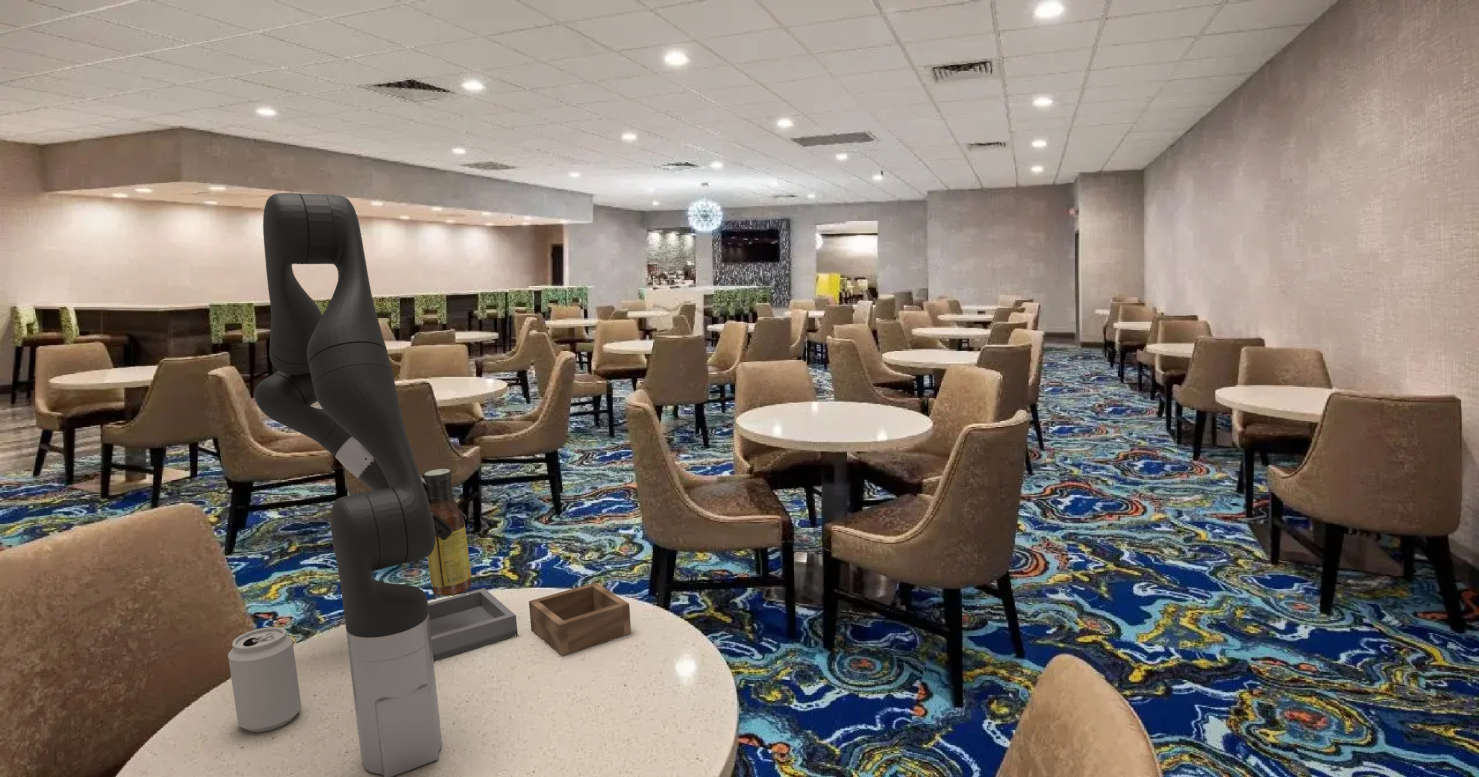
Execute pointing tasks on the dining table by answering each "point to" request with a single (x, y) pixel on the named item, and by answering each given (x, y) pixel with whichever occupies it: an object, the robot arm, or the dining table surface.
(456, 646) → the tray
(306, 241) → the robot arm
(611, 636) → the bottle holder
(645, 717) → the dining table surface
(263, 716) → the can
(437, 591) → the sauce bottle
